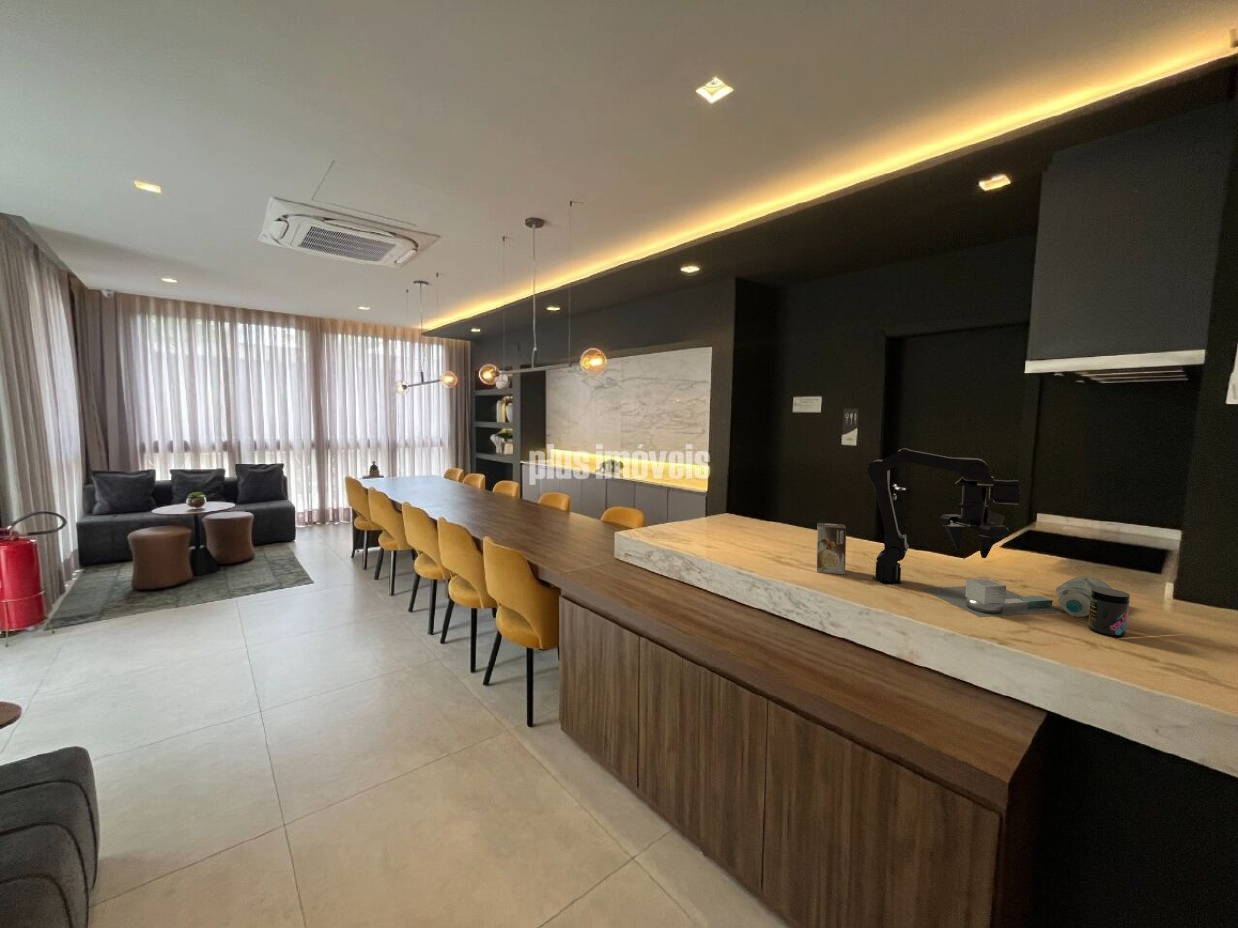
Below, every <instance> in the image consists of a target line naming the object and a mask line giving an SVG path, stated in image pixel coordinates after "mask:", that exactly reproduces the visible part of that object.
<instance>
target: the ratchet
mask: <svg viewBox="0 0 1238 928" xmlns="http://www.w3.org/2000/svg"><path fill="white" fill-rule="evenodd" d="M1053 602H1054V601H1053V599H1051V598H1048V597H1045V596H1042V595H1030V596H1029V595H1028V596H1023V597H1018V598H1017V599H1005V604H991V605H983V604H981V603H979V602H977V601H974V600H972V599H970V598H967V603H966V606H967V607H968V608H969V609H971V610H974V611H977V612H980V613H985V614H1001V613H1002V612H1003V610H1009V609H1027V608H1028V609H1035V608H1053Z"/></svg>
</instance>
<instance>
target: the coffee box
mask: <svg viewBox="0 0 1238 928" xmlns="http://www.w3.org/2000/svg"><path fill="white" fill-rule="evenodd" d="M816 525H817V526H816V527H817V533H816V538H817V539H816V573H824V574H825V573H827V574H836V575H838V574H839V575H846V558H847V556H846V551H847V549H846V544H847V527H846V526H847V525H845V524H840V523H829V522H828V523H827V522H825V523H824V522H817V524H816Z"/></svg>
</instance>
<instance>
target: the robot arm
mask: <svg viewBox="0 0 1238 928" xmlns="http://www.w3.org/2000/svg"><path fill="white" fill-rule="evenodd" d="M904 462H905V463H910V464H911V463H912V464H916V465H921V466H925V467H933V468H937V469H942V470H946V471H947V470H948V471H950V472H953V473H955V474H957V475H960V476H962V477H961V478H960V479H959V480H957V481H956V482H955V483H954V484H955V486H958V487H959V486H960V487H962V491H961V493H962V495H961V496H962V497H961V503H957V508H961V509H960V511H961V512H960V513H961V514H956V513H955V514H954V513H953V514H952V513H950V514H942V515H941V516H940V517H939V524H941V525H942V527H943V528H944V529H945V531H946V533H947V534H948V536H949V539H951V542H952V544H953V546H954V547H955V549H956V550H957V551H959V550H961V548H962V541H963V533H964V531H965V530H966V529H967V528H971V529H975V530H977V531H978V533H979V534H977V540H978V549H979V553H980V557H981V558H982V559H986V558H987V557H988V555H989V553H990V551H991V550H992V548H993V546H994V545H995V543H996V542H997V541H999V540H1000V539H1004V538H1005V537H1009V534H1010V533H1009V532H1010V531H1009V528H1008V526H1005V525H1003V522H1004V520H1005V515H1001V514H999V513H996V512H994V511H991V507H990V505H987V493H988V499H989V500H992V501H993V504H1002V505H1013V506H1014V505H1015V506H1016V505H1017V506H1018V505H1020V501H1021V500H1020V499H1021V492H1020V481H1019V480H1017V479H1016V480H1014V479H1012V480H1011V479H1010V480H1003V479H995V477H994V475H991V473H989V466H988V464H987V463H986V462H985V460H983V459H981V458H978V457H976V458H975V457H950V456H944V455H939V454H934V453H929V452H923V451H918V450H912V449H909V448H908V447H907V448H905V447H904V448H901V449H899V450H897V452H895V453H893V454H892V455H890V456H888V457H886V458H884V459H876V460H873V461H872V462H870V463H869V464H868V466H867V468H866V472H867V474H868V477H869V479H870V482H871V484H872V486H873V487H874V490H875V492H876V497H877V501H878V507H879V511H880V515H881V521H882V525H883V531H884V541H883V543H884V547H883V548H884V549H883V550H881V551H880V552H879V553H878V555H877V557H876V561H875V576H872V577H871V578H872V579H873V580H874V581H877V582H879V583H881V584H882V585H885V586H886V585H902V584H904V582H903V581H901V578H902V567H901V563H900V561H902V560H903V559H904V558H905V556H906V555H907V552H908V549H909V547H910V545H909V543H908V541H907V534H901V531H900V530H899V527H898V521H897V517H896V511H895V508H894V502H893V497H892V493H891V489H890V480H891V470H892V469H894V468H896V467H897V466H899V465H902V464H903V463H904ZM965 478H968V479H965ZM978 480H979V481H981V482H983V483H984V484H983V483H978ZM988 488H989V491H987V489H988Z"/></svg>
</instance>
